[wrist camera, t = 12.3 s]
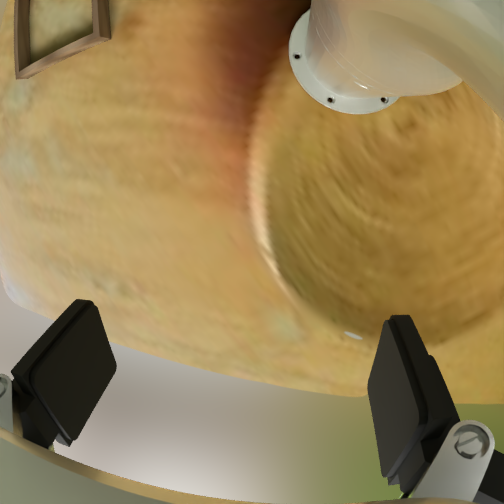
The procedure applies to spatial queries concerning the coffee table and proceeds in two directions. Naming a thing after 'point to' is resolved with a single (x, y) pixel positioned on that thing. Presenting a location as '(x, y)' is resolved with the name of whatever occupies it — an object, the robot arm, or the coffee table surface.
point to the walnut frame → (23, 48)
